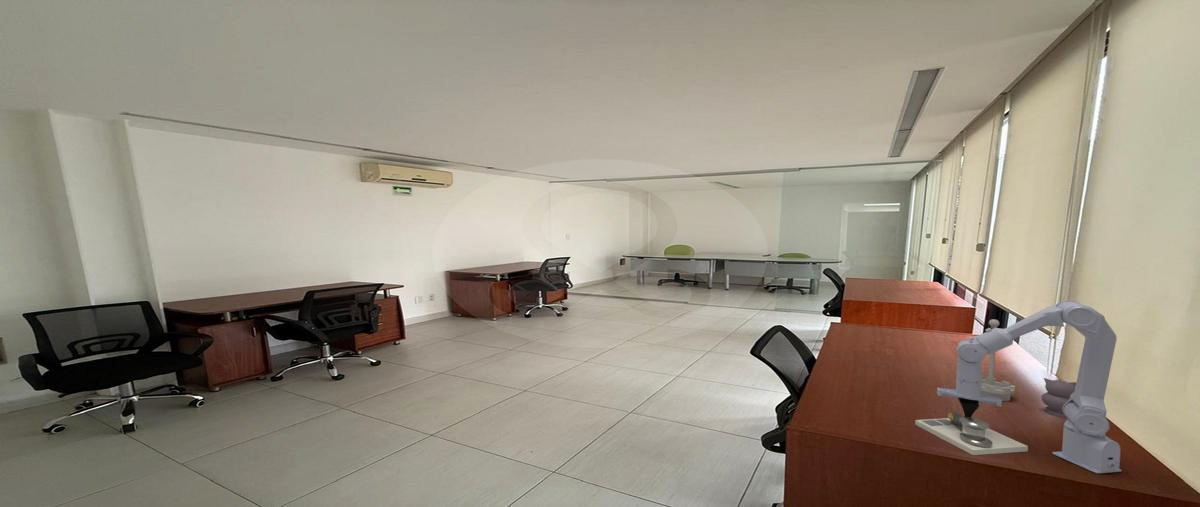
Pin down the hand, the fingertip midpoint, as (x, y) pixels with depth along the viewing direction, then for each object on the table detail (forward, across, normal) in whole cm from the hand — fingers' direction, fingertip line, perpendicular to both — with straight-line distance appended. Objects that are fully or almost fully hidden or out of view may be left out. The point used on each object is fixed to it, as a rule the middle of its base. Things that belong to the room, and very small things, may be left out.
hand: (967, 422), depth 123 cm
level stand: (+4, 0, +2) cm, 4 cm away
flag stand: (+4, -13, -46) cm, 48 cm away
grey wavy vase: (+4, -29, -38) cm, 48 cm away
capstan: (+2, +1, +3) cm, 4 cm away
